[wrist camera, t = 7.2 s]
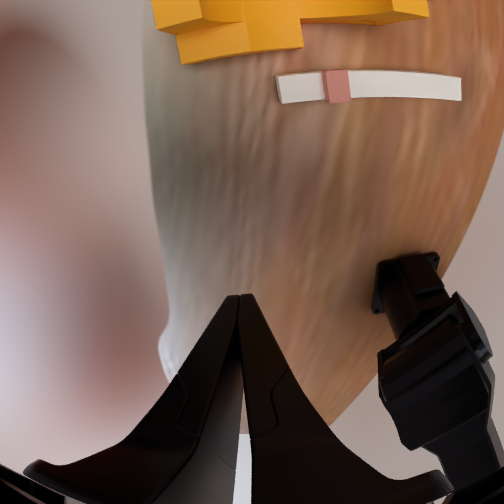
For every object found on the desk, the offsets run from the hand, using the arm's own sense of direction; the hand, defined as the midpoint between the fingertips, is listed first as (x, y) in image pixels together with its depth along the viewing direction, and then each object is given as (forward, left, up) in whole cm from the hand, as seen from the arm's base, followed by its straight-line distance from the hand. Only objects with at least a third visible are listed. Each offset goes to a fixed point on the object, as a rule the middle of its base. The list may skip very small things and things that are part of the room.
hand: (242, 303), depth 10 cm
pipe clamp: (+10, -4, -13) cm, 16 cm away
